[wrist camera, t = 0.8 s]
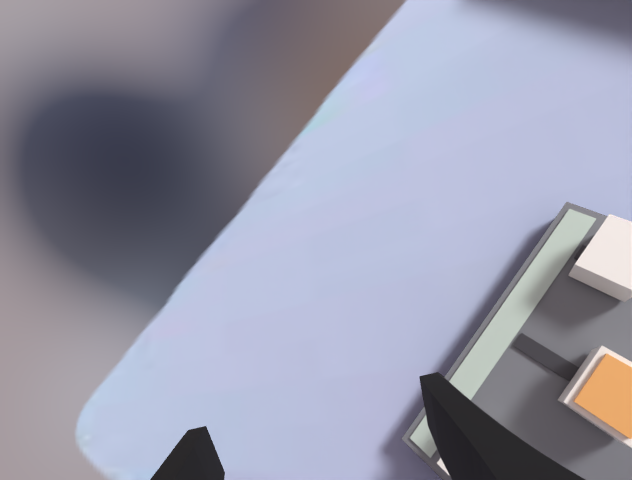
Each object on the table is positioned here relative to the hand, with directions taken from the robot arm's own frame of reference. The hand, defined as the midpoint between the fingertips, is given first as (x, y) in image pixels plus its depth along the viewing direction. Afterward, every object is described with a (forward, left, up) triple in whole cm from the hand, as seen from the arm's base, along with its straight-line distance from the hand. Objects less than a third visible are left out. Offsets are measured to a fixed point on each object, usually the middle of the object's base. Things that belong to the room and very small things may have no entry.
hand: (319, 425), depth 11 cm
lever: (-4, -14, -15) cm, 21 cm away
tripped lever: (-7, -7, -15) cm, 18 cm away
